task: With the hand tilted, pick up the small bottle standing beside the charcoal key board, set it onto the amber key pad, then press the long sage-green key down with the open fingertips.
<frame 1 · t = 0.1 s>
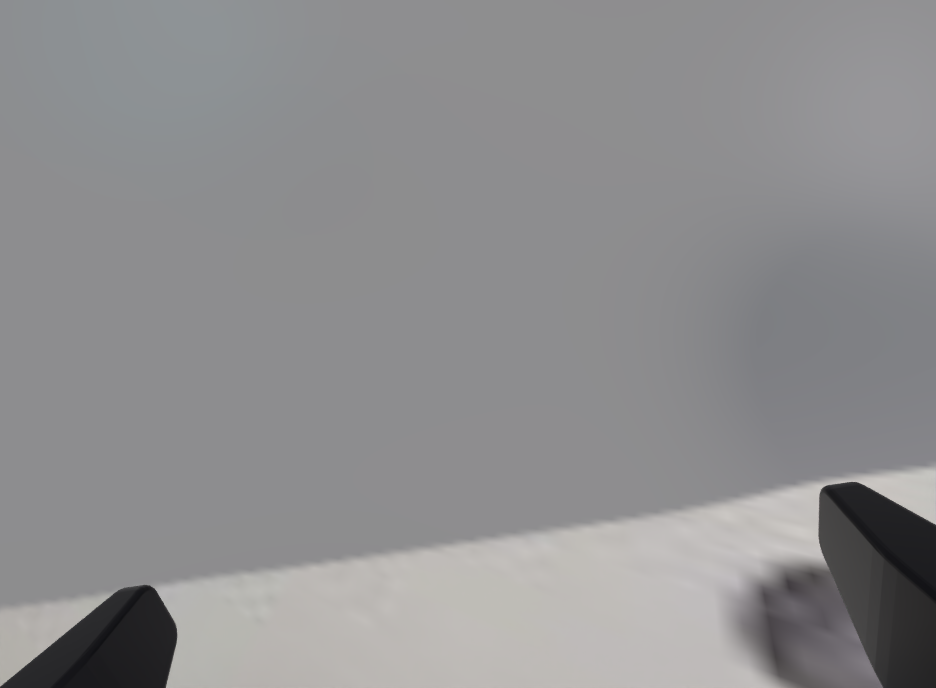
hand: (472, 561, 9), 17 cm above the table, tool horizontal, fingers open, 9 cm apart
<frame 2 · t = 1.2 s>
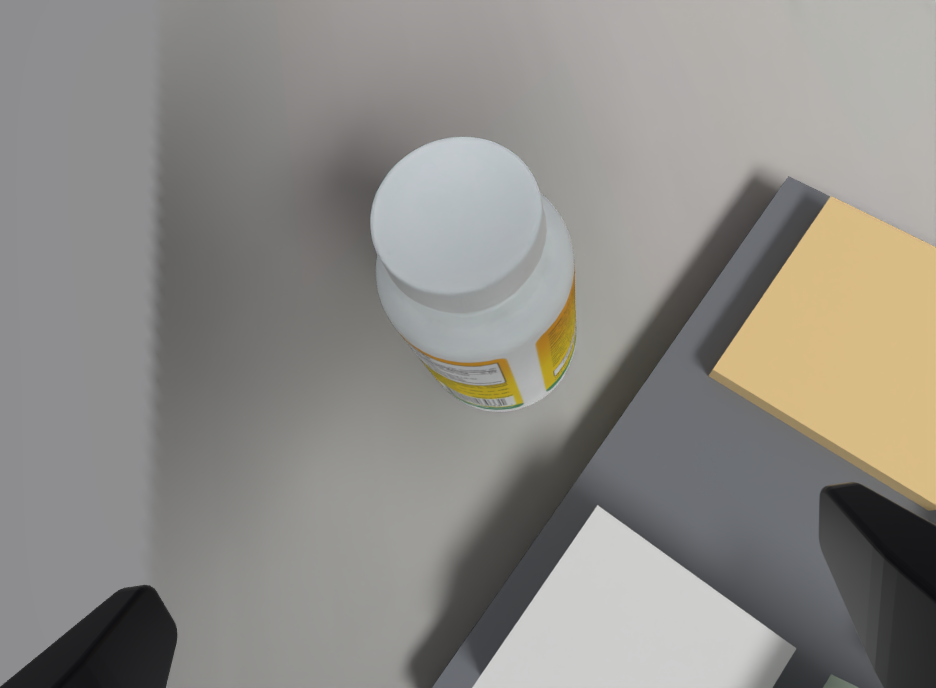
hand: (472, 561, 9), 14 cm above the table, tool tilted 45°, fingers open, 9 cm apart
supplement bottle: (503, 342, 24), on the table
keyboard: (875, 608, 20), on the table
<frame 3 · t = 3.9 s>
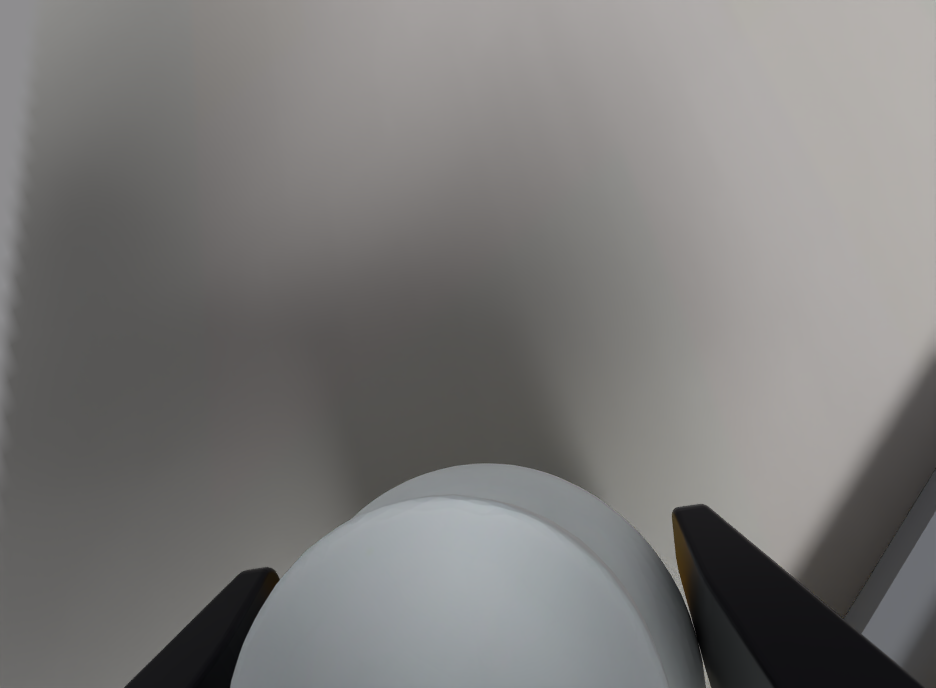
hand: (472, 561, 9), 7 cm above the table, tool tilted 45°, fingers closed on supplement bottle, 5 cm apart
supplement bottle: (529, 624, 15), on the table, touching gripper
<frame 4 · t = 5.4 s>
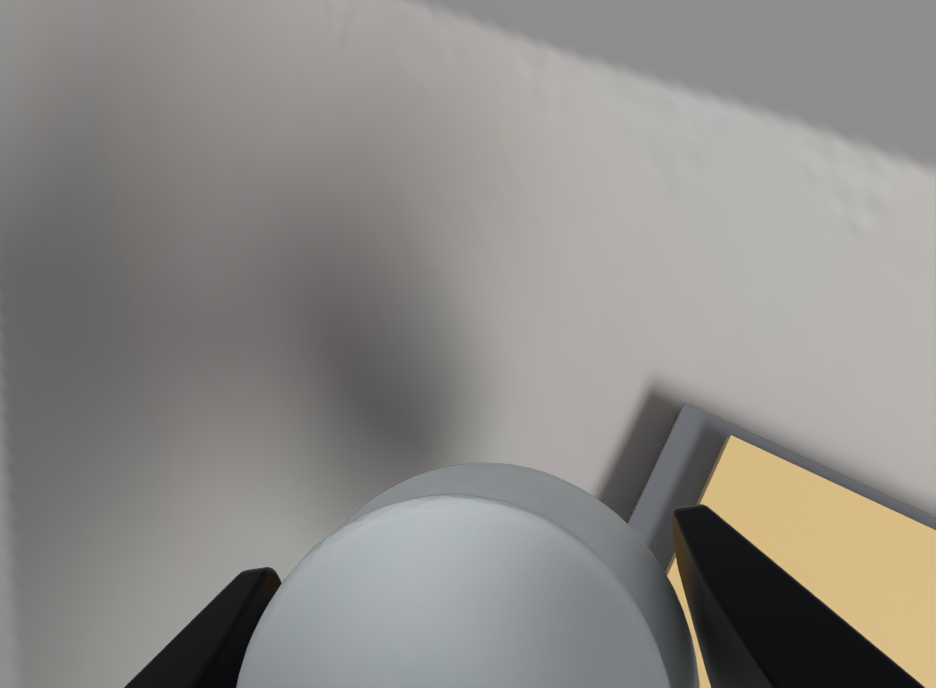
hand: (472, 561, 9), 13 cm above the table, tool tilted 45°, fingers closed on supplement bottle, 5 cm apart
supplement bottle: (520, 622, 15), point 6 cm above the table, touching gripper
when the fingers open (9 cm above the table, at t = 7.1 s): supplement bottle stays where it is, resting on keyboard.
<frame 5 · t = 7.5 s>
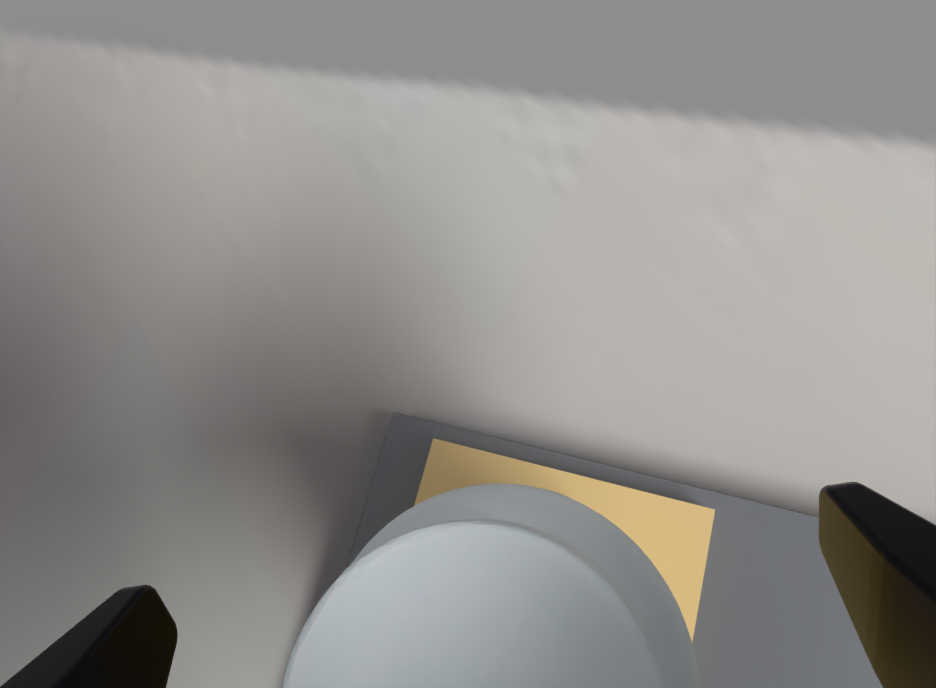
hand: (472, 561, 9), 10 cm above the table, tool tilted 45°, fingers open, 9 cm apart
supplement bottle: (534, 627, 16), point 2 cm above the table, touching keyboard
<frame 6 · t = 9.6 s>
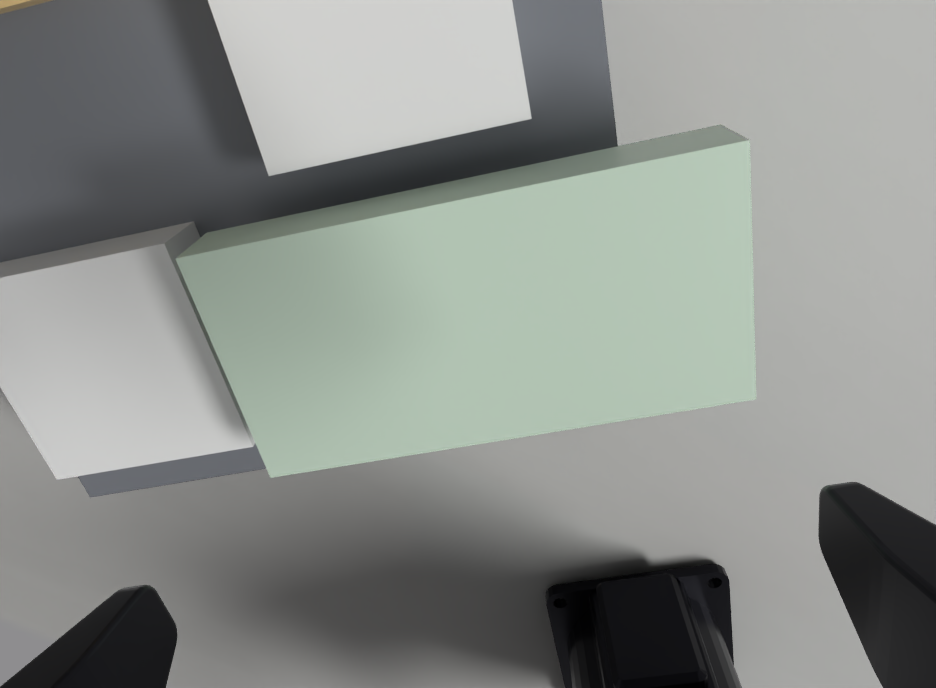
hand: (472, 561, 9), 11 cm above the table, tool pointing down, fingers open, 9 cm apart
green key: (478, 304, 16), point 3 cm above the table, slide at 0.0 cm
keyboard: (246, 99, 17), on the table
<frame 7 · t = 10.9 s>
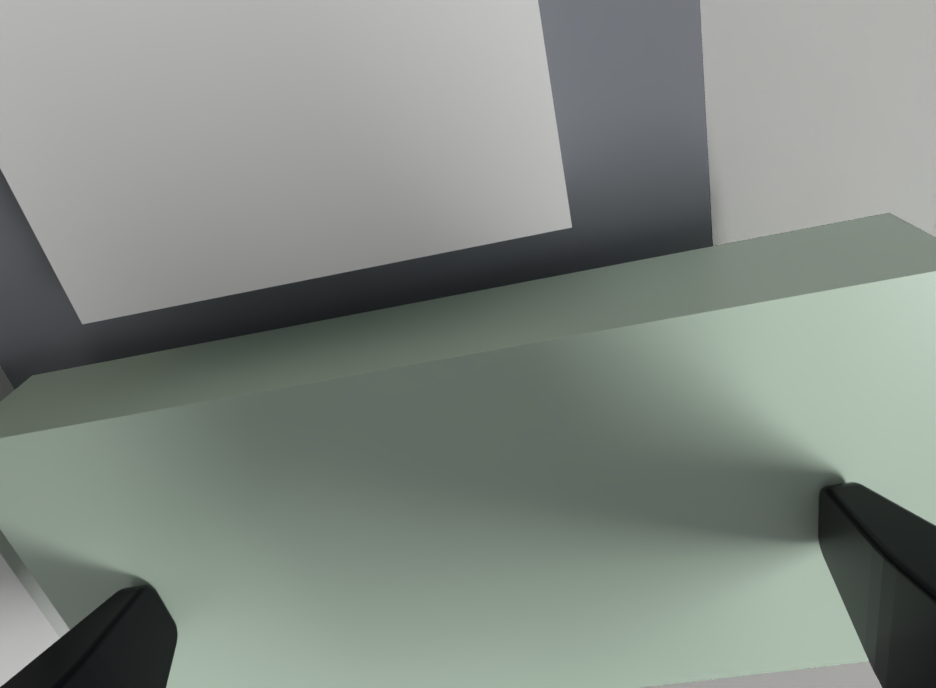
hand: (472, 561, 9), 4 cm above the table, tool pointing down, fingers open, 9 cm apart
green key: (472, 485, 10), point 2 cm above the table, slide at 0.9 cm, touching gripper
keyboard: (82, 165, 10), on the table
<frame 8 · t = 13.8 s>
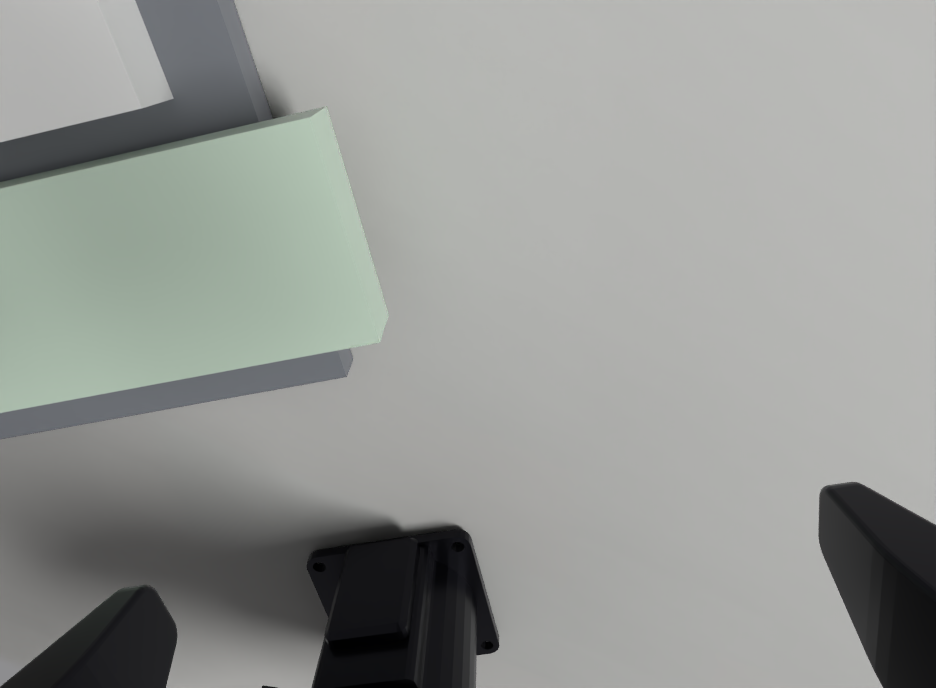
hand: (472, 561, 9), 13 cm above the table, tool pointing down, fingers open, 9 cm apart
green key: (154, 263, 19), point 2 cm above the table, slide at 1.2 cm
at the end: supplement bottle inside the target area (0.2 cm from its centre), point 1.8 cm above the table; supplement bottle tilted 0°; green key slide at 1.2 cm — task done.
